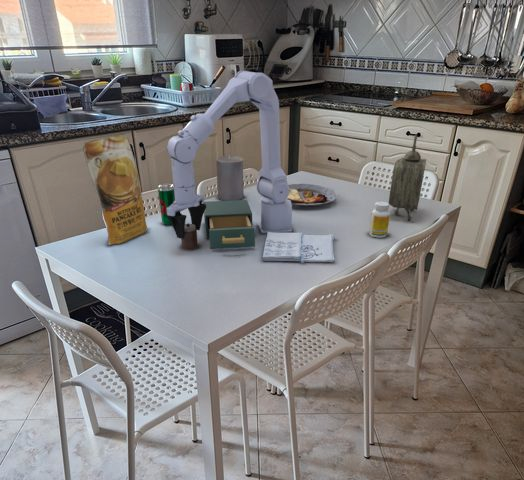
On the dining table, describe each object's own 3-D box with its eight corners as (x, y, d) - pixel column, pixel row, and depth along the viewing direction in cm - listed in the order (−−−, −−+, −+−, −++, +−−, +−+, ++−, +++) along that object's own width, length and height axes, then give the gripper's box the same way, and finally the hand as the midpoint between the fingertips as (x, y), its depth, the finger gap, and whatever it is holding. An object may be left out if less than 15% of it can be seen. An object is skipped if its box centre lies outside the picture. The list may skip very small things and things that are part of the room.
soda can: (174, 226, 154) (170, 188, 147) (159, 225, 155) (154, 187, 148) (180, 221, 158) (176, 183, 151) (165, 220, 159) (161, 182, 152)
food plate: (339, 211, 166) (340, 200, 164) (271, 210, 166) (271, 200, 164) (331, 190, 187) (332, 180, 185) (271, 190, 187) (271, 180, 185)
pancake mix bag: (94, 244, 141) (73, 142, 126) (139, 225, 155) (125, 130, 139) (111, 249, 138) (91, 145, 123) (155, 229, 152) (143, 132, 136)
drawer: (256, 252, 134) (256, 233, 131) (211, 254, 133) (209, 235, 130) (249, 231, 148) (249, 213, 144) (208, 233, 146) (206, 215, 143)
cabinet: (252, 236, 146) (252, 213, 142) (206, 239, 145) (204, 215, 141) (247, 221, 157) (246, 199, 153) (204, 223, 156) (203, 201, 152)
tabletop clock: (414, 224, 155) (428, 140, 141) (385, 221, 158) (397, 139, 144) (417, 210, 166) (431, 132, 152) (390, 207, 169) (401, 130, 155)
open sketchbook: (267, 236, 146) (267, 229, 145) (334, 238, 145) (335, 231, 143) (261, 262, 131) (261, 254, 129) (336, 265, 129) (336, 257, 128)
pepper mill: (188, 242, 142) (186, 219, 138) (201, 245, 140) (199, 222, 137) (178, 247, 139) (176, 224, 135) (191, 250, 137) (189, 227, 133)
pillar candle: (217, 194, 183) (215, 152, 174) (243, 193, 184) (242, 151, 175) (218, 201, 175) (215, 158, 166) (245, 200, 176) (244, 157, 167)
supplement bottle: (365, 233, 149) (369, 201, 143) (380, 230, 150) (385, 199, 145) (374, 239, 144) (379, 207, 139) (390, 236, 146) (395, 205, 140)
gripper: (180, 193, 123) (184, 244, 131) (211, 180, 134) (214, 228, 141) (158, 190, 126) (164, 239, 133) (190, 177, 136) (194, 224, 144)
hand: (188, 233), depth 138 cm, fingers open, 7 cm apart
